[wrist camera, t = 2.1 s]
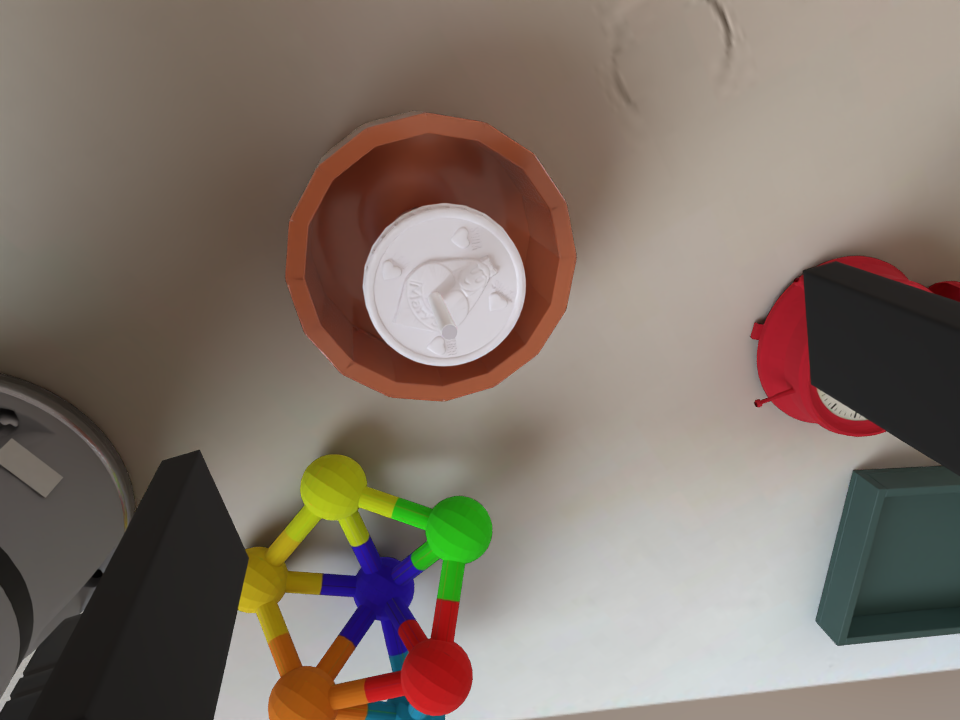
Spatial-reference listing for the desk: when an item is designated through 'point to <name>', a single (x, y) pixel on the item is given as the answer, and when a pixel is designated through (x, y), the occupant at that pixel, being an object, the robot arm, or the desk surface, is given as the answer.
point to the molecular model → (369, 602)
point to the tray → (895, 558)
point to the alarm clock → (789, 354)
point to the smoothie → (444, 284)
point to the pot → (410, 184)
